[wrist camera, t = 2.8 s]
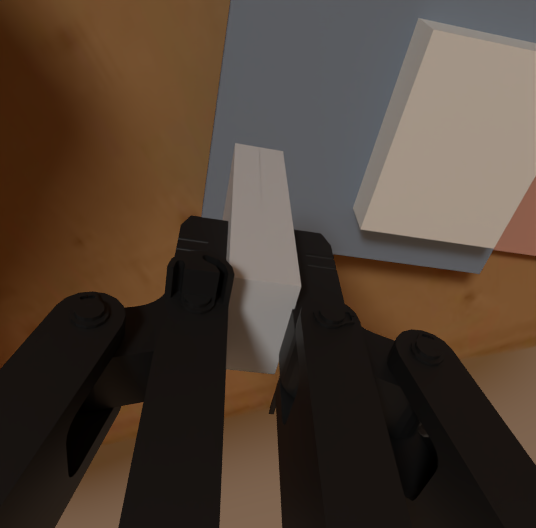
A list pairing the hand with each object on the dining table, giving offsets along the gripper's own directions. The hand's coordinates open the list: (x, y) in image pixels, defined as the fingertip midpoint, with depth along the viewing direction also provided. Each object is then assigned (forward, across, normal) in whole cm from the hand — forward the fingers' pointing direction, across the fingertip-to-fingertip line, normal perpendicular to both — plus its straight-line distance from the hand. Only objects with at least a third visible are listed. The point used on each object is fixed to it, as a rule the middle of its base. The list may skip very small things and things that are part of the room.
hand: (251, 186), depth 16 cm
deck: (+11, +6, 0) cm, 12 cm away
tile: (+7, +10, 0) cm, 12 cm away
